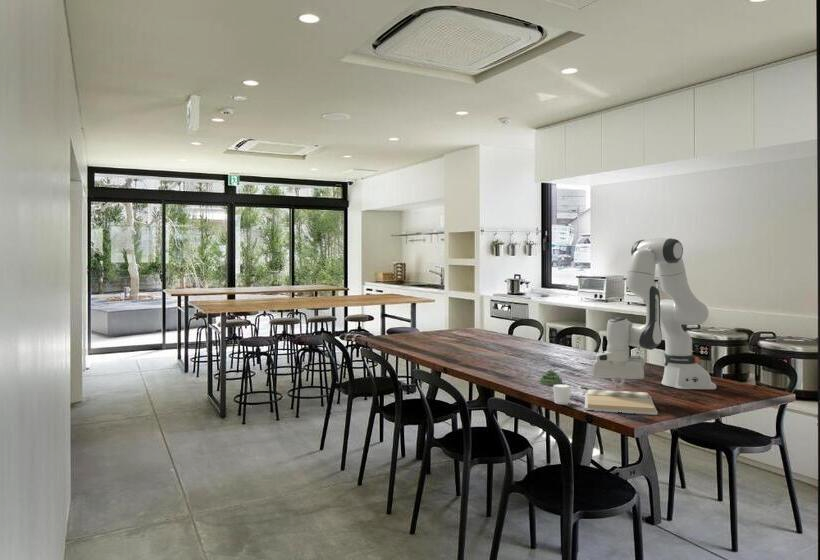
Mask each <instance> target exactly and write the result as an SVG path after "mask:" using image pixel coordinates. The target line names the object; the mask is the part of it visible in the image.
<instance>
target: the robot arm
mask: <svg viewBox="0 0 820 560" xmlns="http://www.w3.org/2000/svg"><path fill="white" fill-rule="evenodd" d="M630 253H631V258H630V260H629V264H628V267H627V273H626V277H625V279H626V280H625V282H626V283H625V284H626V287H627V289H628V290H629V291H630V292H631V293H632V294H633V295H635V296H637V297H638V298H639V297H640V298H641V299H642V300H643V301H644V302H645V305H646V313H645V314H646V317H645V318H646V320H645V321H646V322H645V324H642V323H636V322H631V321H629V320H628V318H627V317H626V316H621V315H620V316H612V317H610V318H609V319H608V321H607V323H606V340H607V345H606V350H605V351H601V352H597V353H596V355H595V360H594V362H593V367H592V376H593V377H594V378H599V379H601V378H606V379H607V378H608V379H611V381H612V383H613V385H614V387H613V388H614V389H616V390H617V389H618V390H622V389H623V385H624V383H625V381H626V380H627V379H629V380H630V379H631V380H643V379H644V378H645V370H644V367H645V366H646V365H645V364H646V361H645V358H643V357H642V356H640V355H637V356H635V355H630V347H631V346H632V347H636V348H637V347H638V348H642V349H646V350H655V349H656V348H658V346H659V345H660V344H661V342H662V341H663V335H664V343H665V345H664V346H665V349H664V350H665V352H664V355H663V365H664V370H663V376H662V379H661V384H662V385H663V386H667V387H672V388H675V389H678V390H679V389H680V390H716V389H717V385H716V383H714V381H713V382H712V379H711V375H710V373H709V372H708V371H707V370H706V369H705V368H703V367H702V366H701V365H699V364H698V363H697V362H699V361H700V358H699V356H696V355H694V354H693V339H692V337H691V335H690V334H689V333H687V332H686V331H684V329H683V327H682V325H685V326H686V325H687V326H698V325H704V324H705V323H706V321H707V320H708V318H709V309H708V307H707V305H706V304H705V303H703V302H702V301H700V300H699V298H697V297H696V295H695V294H694V293H693V291H692V290H691V288H690V286H689V282H688V278H687V273H686V267H685V264H684V260H683V254H684V247H683V244H682V242H681V241H680V240H678V239H677V238H676V239H675V238H671V237H670V238H665V237H664V238H661V237H660V238H658V237H657V238H649V239H641V240H638V241H635V242H634V243H633V245H632V247H631V250H630ZM656 266H657V272H658V278H659V282H660V283H659V284H660V287H661V290H662V292H663V293H664V294H666V295H668V297H670V298H671V299H667V298H665V299H661V295H660V290H659V288H658V287H656V284H655V276H656ZM662 332H663V335H662ZM629 346H630V347H629ZM616 379H620V380H621V382H620V383H616Z"/></svg>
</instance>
